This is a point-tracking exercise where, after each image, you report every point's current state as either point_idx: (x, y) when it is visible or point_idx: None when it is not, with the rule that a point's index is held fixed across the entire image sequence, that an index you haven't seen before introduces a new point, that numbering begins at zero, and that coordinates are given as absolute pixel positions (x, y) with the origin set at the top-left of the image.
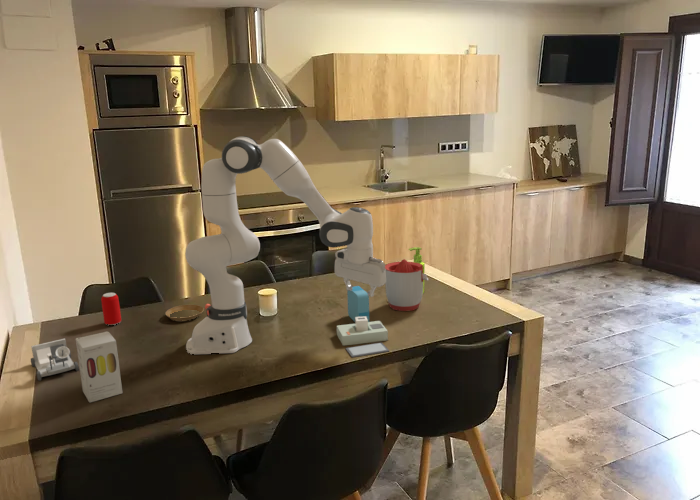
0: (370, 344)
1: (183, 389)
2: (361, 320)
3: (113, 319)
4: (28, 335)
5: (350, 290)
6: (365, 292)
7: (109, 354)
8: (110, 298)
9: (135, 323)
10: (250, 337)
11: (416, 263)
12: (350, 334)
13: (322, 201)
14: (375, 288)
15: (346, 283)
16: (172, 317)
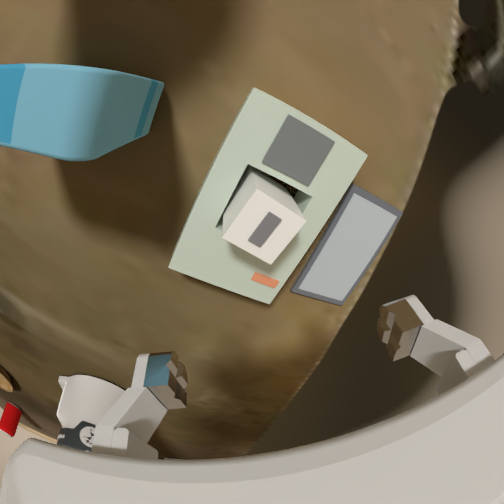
0: (334, 223)
1: (222, 448)
2: (284, 244)
3: (19, 415)
4: (37, 433)
5: (182, 365)
6: (66, 77)
7: None
8: (12, 435)
9: (14, 399)
10: (110, 390)
11: None
12: (278, 279)
13: None
14: (461, 336)
15: (155, 428)
16: (11, 391)
